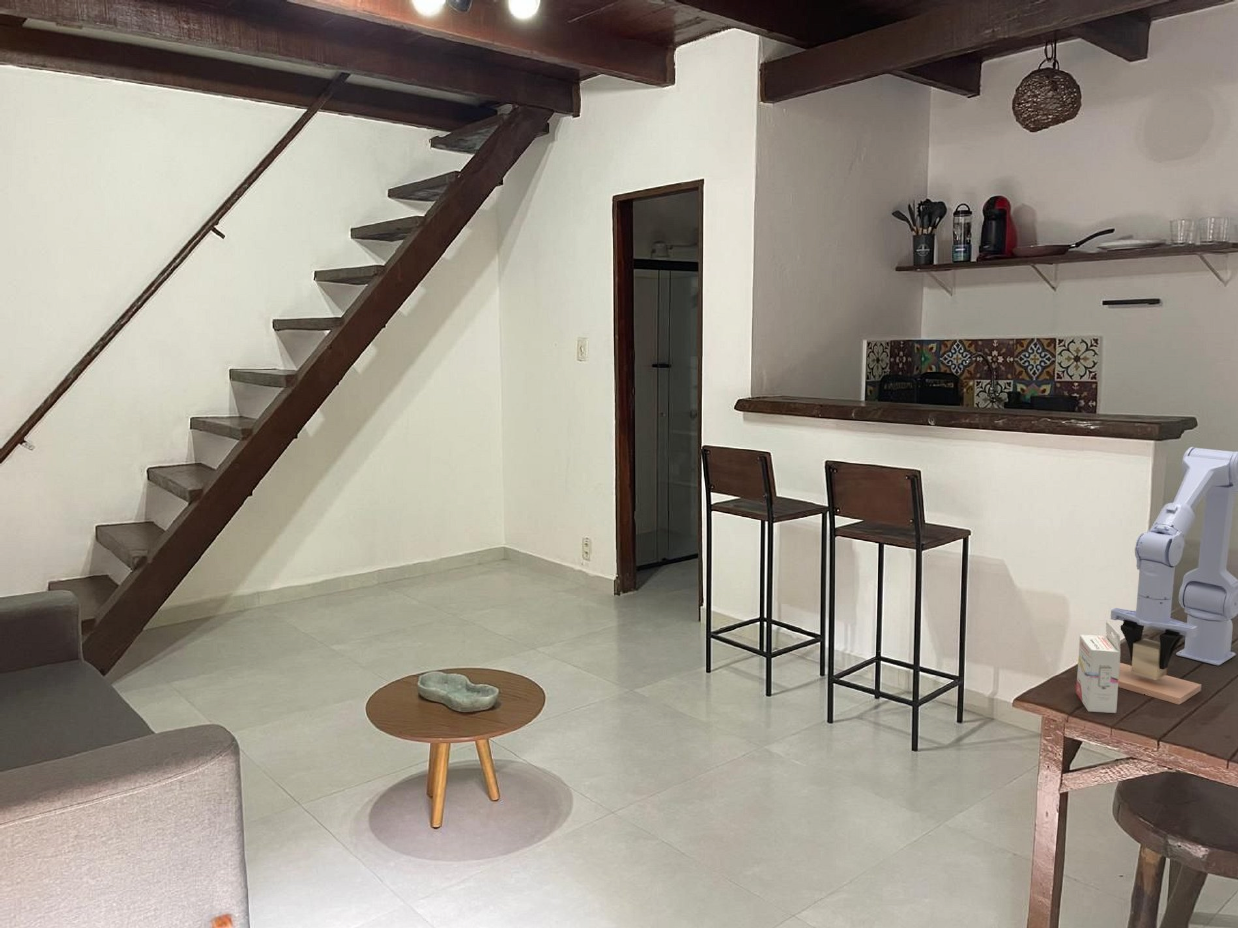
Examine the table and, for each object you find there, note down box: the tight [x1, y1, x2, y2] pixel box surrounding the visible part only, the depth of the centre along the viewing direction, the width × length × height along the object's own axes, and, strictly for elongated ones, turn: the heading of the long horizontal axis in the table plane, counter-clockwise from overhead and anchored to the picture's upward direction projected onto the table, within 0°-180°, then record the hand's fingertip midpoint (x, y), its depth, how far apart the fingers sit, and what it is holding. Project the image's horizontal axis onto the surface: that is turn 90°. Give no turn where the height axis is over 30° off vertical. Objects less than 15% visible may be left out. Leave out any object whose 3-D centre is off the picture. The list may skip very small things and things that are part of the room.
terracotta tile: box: [1118, 662, 1202, 705], centre depth 178 cm, size 10×15×1 cm, turn 39°
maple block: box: [1131, 637, 1168, 680], centre depth 177 cm, size 4×4×6 cm
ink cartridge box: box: [1075, 620, 1121, 714], centre depth 169 cm, size 9×5×15 cm, turn 168°
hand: (1149, 663), depth 178 cm, fingers closed on maple block, 4 cm apart
